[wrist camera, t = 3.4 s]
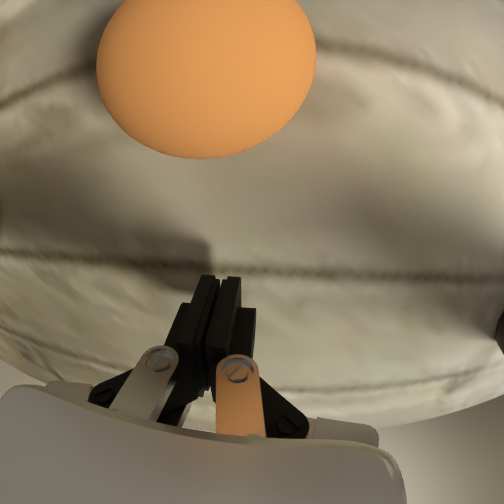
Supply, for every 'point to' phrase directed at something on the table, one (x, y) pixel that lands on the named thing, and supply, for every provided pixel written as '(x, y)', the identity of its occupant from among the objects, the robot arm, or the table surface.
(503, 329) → the bottle
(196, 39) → the ball
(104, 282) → the table surface
